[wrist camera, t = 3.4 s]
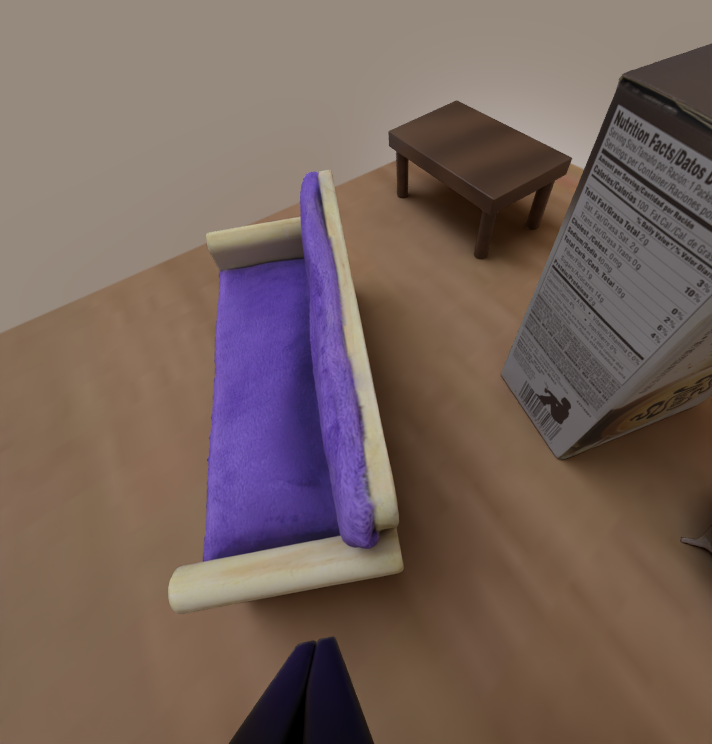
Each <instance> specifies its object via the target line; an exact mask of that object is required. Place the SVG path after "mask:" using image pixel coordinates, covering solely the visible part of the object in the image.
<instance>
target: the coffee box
mask: <svg viewBox="0 0 712 744" xmlns="http://www.w3.org/2000/svg"><path fill="white" fill-rule="evenodd" d="M501 375H502V377H503V379H504V380H505V382H506V383H507V385H508V386H509V388H510V389H511V391H512V392H513V394H514V395H515V397H516V398H517V400H518V401H519V403H520V404H521V406H522V407H523V409H524V410H525V411H526V413H527V414H528V416H529V417H530V419H531V420H532V422H533V423H534V425H535V426H536V428H537V429H538V431H539V432H540V434H541V435H542V437H543V438H544V440H545V441H546V443H547V444H548V446H549V447H550V449H551V450H552V452H553V453H554V455H555V456H556V457H557V458H559V459H566V458H569V457H572V456H574V455H577V454H579V453H581V452H584V451H586V450H589V449H591V448H594V447H596V446H599V445H601V444H603V443H606V442H608V441H611V440H613V439H616V438H618V437H620V436H623V435H625V434H628V433H630V432H633V431H635V430H638V429H640V428H642V427H645V426H647V425H650V424H652V423H654V422H657V421H659V420H662V419H664V418H667V417H669V416H671V415H674V414H676V413H679V412H681V411H684V410H686V409H689V408H691V407H694V406H696V405H698V404H701V403H702V402H703V401H705V400H706V399H707V398H709V397H710V396H712V44H709V45H706V46H703V47H700V48H697V49H694V50H691V51H689V52H686V53H683V54H680V55H676V56H674V57H670V58H667V59H664V60H661V61H658V62H655V63H653V64H650V65H647V66H644V67H641V68H638V69H635V70H631V71H629V72H626V73H624V74H623V75H622V76H621V77H620V78H619V82H618V86H617V89H616V93H615V95H614V97H613V100H612V102H611V105H610V107H609V109H608V112H607V114H606V117H605V119H604V122H603V124H602V127H601V129H600V132H599V134H598V137H597V140H596V142H595V144H594V147H593V149H592V151H591V154H590V156H589V159H588V161H587V164H586V167H585V169H584V171H583V174H582V176H581V179H580V181H579V184H578V186H577V188H576V191H575V193H574V196H573V198H572V201H571V203H570V206H569V208H568V211H567V213H566V216H565V218H564V220H563V223H562V225H561V228H560V230H559V233H558V235H557V238H556V240H555V243H554V245H553V248H552V250H551V253H550V255H549V258H548V260H547V262H546V265H545V267H544V270H543V272H542V275H541V277H540V280H539V282H538V284H537V287H536V289H535V292H534V294H533V297H532V299H531V302H530V304H529V306H528V309H527V311H526V313H525V316H524V318H523V321H522V323H521V326H520V328H519V330H518V333H517V336H516V338H515V341H514V343H513V345H512V348H511V350H510V352H509V355H508V358H507V360H506V363H505V365H504V368H503V370H502V372H501Z"/></svg>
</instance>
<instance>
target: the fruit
mask: <svg viewBox="0 0 712 744" xmlns="http://www.w3.org/2000/svg"><path fill="white" fill-rule="evenodd" d="M681 538H682V539H683V540H680V541H681V542H683V543H689V544H691V545H697V546H699V547H704V548H706V549H707V550H709V551H710V552H711V553H712V526H711V527H710V528H709V529H708V530H707V532H706V533H705V534H704V535H703V536H702V537H701V538H699V539H692V538H684V537H681Z"/></svg>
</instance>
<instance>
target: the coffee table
mask: <svg viewBox="0 0 712 744" xmlns="http://www.w3.org/2000/svg"><path fill="white" fill-rule="evenodd" d="M389 146H390V147H391V148H392V149H394V150H395V151H396V162H397V195H398V197H401V198H403V197H406V196H407V195H408V159H409V160H410V161H412V162H413V163H414V164H416V165H417V166H419V167H420V168H422V169H423V170H425V171H426V172H428V173H429V174H431V175H432V176H434V177H435V178H436V179H438V180H439V181H441V182H442V183H444V184H445V185H447V186H448V187H450V188H451V189H453V190H454V191H455V192H457V193H458V194H460V195H461V196H463V197H464V198H466V199H467V200H469V201H470V202H472V203H473V204H475V205H476V206H477V207H479V208H480V209H482V210H483V211H482V216H481V221H480V227H479V232H478V237H477V242H476V247H475V252H474V255H475V257H476V258H478V259H483V258H486V257H487V254H488V250H489V246H490V242H491V237H492V233H493V229H494V225H495V220H496V216H497V212H498V211H500V210H501V209H503V208H505V207H507V206H509V205H511V204H512V203H514V202H516V201H518V200H520V199H522V198H524V197H525V196H527V195H529V194H531V193H533V192H535V191H536V190H537V191H536V194H535V197H534V200H533V203H532V206H531V210H530V213H529V216H528V219H527V222H526V227H527V228H529V229H536V228H538V227H539V224H540V221H541V219H542V216H543V213H544V210H545V207H546V204H547V201H548V199H549V196H550V193H551V190H552V187H553V184H554V182H555V180H557V179H558V178H560V177H562V176H564V175H566V173H567V171H568V168H569V165H570V163H571V160H572V158H571V157H569V156H567V155H565V154H563V153H561V152H559V151H557V150H555V149H553V148H551V147H549V146H547V145H545V144H543V143H541V142H539V141H537V140H535V139H533V138H531V137H529V136H527V135H525V134H523V133H521V132H519V131H517V130H515V129H513V128H511V127H509V126H507V125H505V124H503V123H501V122H499V121H497V120H495V119H493V118H491V117H489V116H487V115H485V114H483V113H481V112H479V111H477V110H475V109H473V108H471V107H469V106H467V105H465V104H463V103H461V102H459V101H454V102H452V103H450V104H448V105H445V106H443V107H441V108H439V109H437V110H434V111H433V112H430V113H428V114H426V115H423V116H421V117H419V118H417V119H415V120H412V121H410V122H408V123H406V124H404V125H401V126H399V127H397V128H395V129H393V130H390V131H389Z"/></svg>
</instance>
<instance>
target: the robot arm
mask: <svg viewBox="0 0 712 744" xmlns="http://www.w3.org/2000/svg"><path fill="white" fill-rule="evenodd" d="M229 744H374V742H373V739H372V736H371V734H370V731H369V728H368V725H367V723H366V720H365V717H364V714H363V712H362V709H361V706H360V703H359V701H358V698H357V695H356V693H355V690H354V687H353V684H352V682H351V679H350V676H349V673H348V671H347V668H346V665H345V662H344V660H343V657H342V654H341V651H340V649H339V646H338V643H337V640H336V638H335V637H328V638H323V639H319V640H318V641H317V642H316V641H309V642H304V643H300V644H298V645H297V646H296V647H295V649H294V650H293V652H292V653H291V655H290V656H289V657H288V659H287V660H286V662H285V663H284V665H283V666H282V668H281V669H280V670H279V672H278V673H277V675H276V676H275V678H274V679H273V680H272V682H271V683H270V685H269V686H268V688H267V689H266V691H265V692H264V693H263V695H262V696H261V698H260V699H259V701H258V702H257V704H256V705H255V706H254V708H253V709H252V711H251V712H250V714H249V715H248V716H247V718H246V719H245V721H244V722H243V724H242V725H241V727H240V728H239V729H238V731H237V732H236V734H235V735H234V737H233V738H232V739H231V741H230V742H229Z"/></svg>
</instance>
